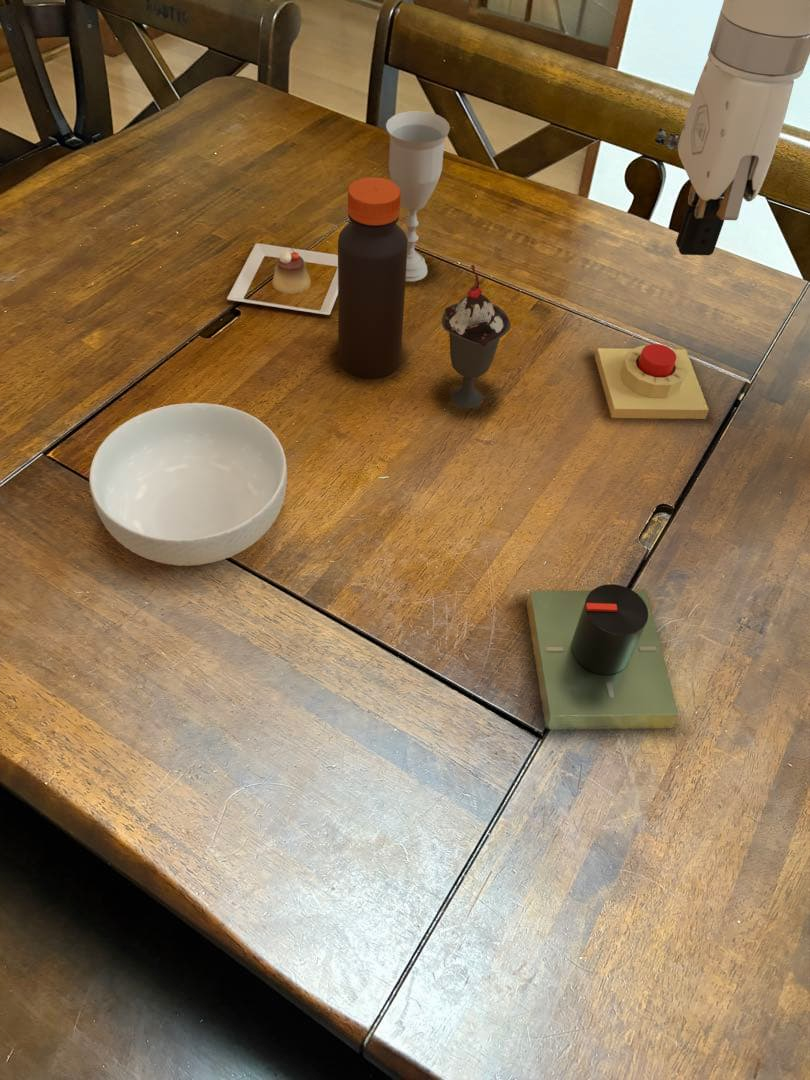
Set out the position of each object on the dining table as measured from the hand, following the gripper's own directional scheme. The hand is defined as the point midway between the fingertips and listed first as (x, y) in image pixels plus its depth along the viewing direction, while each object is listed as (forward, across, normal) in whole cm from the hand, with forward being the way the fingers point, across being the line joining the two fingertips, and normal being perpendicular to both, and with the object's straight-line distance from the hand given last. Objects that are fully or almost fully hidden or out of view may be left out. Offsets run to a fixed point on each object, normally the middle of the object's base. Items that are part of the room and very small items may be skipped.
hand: (693, 249), depth 86 cm
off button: (+14, 0, 0) cm, 14 cm away
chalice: (+17, -21, -25) cm, 37 cm away
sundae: (+17, +2, -20) cm, 27 cm away
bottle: (+17, -4, -30) cm, 35 cm away
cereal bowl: (+17, +19, -46) cm, 53 cm away
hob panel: (+17, +35, -12) cm, 41 cm away
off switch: (+17, 0, 0) cm, 17 cm away
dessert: (+17, -18, -39) cm, 46 cm away
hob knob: (+15, +35, -12) cm, 40 cm away
